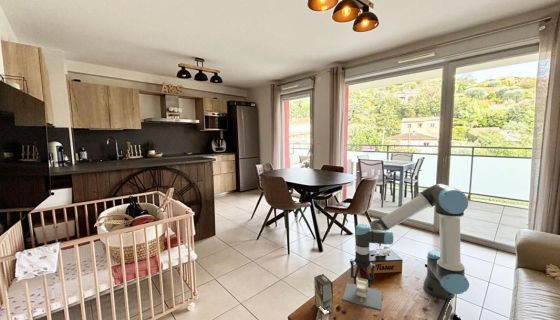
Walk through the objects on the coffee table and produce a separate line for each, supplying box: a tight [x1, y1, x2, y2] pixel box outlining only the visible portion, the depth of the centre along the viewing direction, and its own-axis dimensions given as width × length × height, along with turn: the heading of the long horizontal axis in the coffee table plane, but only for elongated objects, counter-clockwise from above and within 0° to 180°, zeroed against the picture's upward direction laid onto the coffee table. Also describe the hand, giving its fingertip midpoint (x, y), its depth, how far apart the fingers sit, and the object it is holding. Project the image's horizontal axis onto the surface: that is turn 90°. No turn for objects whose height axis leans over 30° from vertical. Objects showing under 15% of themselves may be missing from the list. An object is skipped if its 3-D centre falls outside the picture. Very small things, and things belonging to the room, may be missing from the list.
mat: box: [341, 282, 383, 311], centre depth 132 cm, size 20×16×1 cm
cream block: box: [357, 277, 367, 298], centre depth 132 cm, size 10×5×4 cm, turn 154°
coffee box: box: [313, 273, 334, 313], centre depth 123 cm, size 9×6×16 cm
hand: (362, 290), depth 132 cm, fingers closed on cream block, 5 cm apart
